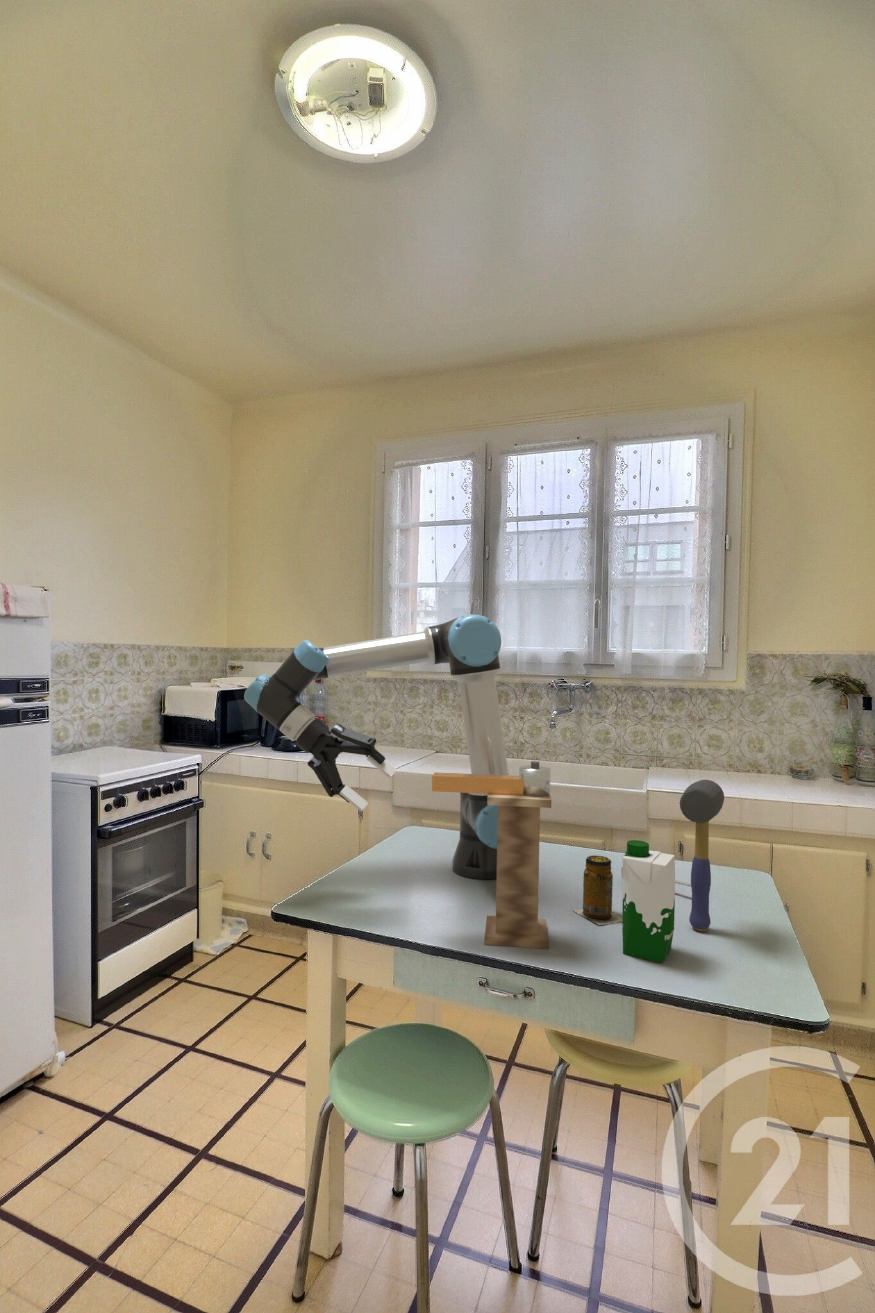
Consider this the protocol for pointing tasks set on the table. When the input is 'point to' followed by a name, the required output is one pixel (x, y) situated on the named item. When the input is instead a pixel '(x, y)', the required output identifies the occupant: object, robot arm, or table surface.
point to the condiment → (598, 891)
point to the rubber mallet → (701, 844)
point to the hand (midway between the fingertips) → (378, 791)
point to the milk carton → (648, 902)
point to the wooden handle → (497, 782)
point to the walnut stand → (517, 873)
